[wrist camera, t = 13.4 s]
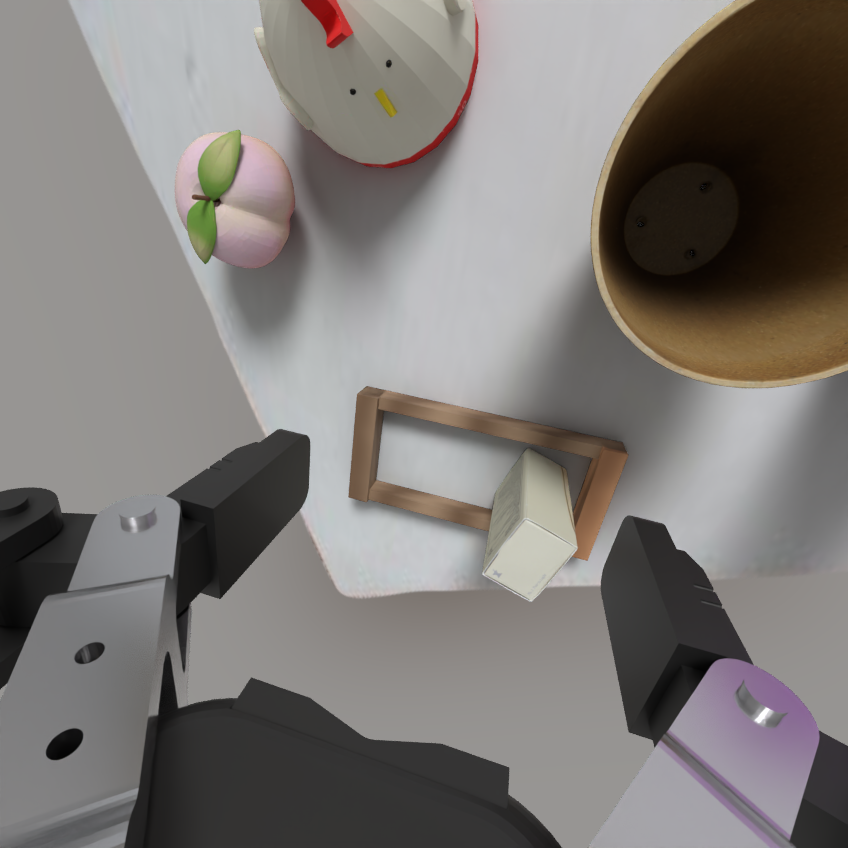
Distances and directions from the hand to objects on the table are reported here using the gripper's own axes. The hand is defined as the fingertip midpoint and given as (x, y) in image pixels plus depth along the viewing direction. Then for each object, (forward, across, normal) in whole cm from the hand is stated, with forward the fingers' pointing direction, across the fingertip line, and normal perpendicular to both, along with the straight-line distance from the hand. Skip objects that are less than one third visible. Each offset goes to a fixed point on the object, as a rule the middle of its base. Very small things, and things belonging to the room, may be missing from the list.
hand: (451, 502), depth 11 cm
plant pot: (+28, -10, -9) cm, 31 cm away
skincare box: (+28, -5, +14) cm, 32 cm away
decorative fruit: (+28, +22, -6) cm, 36 cm away
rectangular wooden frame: (+28, 0, +14) cm, 31 cm away
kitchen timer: (+28, +13, -17) cm, 36 cm away
